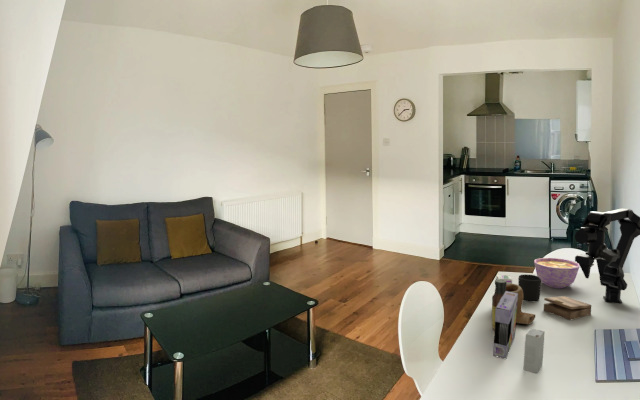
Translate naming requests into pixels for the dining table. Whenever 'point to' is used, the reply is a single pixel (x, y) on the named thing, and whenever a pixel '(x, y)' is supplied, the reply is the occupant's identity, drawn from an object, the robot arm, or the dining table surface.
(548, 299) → the case lid
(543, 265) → the bowl of food
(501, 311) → the cake pan box
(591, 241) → the robot arm
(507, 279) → the syrup box
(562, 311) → the wooden case
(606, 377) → the dining table surface
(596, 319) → the dining table surface
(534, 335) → the skincare box
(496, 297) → the sauce bottle
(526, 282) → the pen holder
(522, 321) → the tan boot
